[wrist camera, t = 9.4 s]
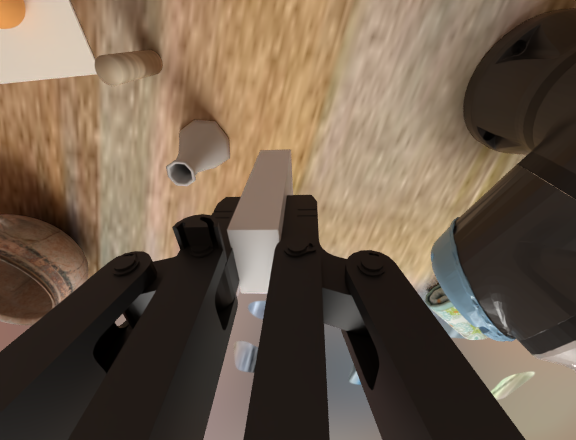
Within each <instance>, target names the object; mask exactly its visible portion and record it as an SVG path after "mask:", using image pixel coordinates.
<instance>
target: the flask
mask: <svg viewBox="0 0 576 440" xmlns="http://www.w3.org/2000/svg"><path fill="white" fill-rule="evenodd" d="M229 158H230V149H229V138H228V137H227V136H226V134H225V133H224V132H223V131H222V129H221V128H220V127H219V125H218V124H217V123H216V122H215V121H206V120H193V121H192V122H191V123H189V124H188V125H187V126H185V127H184V128H183V129H182V130H180V134H179V154H178V156H177V159H176V160H174V161H173V162H172V163H170V164H169V165H167V166H166V169H167V173H168V177H169V178H170V179H171V180H172V181H173V182H174V183H175V184H176V185H179V186H188V185H189V184H191V183H192V182H194V181H195V180H196V178H195V175H196V174H197V173H198V172H201V171H204V170H208V169H212V168H216V167H217V166H219V165H220V164H222V163H223V162H225V161H226V160H228V159H229Z"/></svg>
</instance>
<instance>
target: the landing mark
mask: <svg viewBox="0 0 576 440" xmlns="http://www.w3.org/2000/svg"><path fill="white" fill-rule="evenodd" d="M24 3H25V8H26V12H25V17H24V19H23V21H22V22H21V23H20V24H19V25H18V26H16V27H14V28H10V29H0V84H5V83H14V82H24V81H34V80H44V79H54V78H63V77H73V76H83V75H93V74H97V73H96V70H95V58H94V56H93V53H92V51H91V49H90V46H89V44H88V42H87V39H86V37H85V35H84V32H83V30H82V28H81V25H80V23H79V21H78V18H77V16H76V13H75V11H74V9H73V6H72V4H71V2H70V0H24Z"/></svg>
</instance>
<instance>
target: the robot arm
mask: <svg viewBox="0 0 576 440" xmlns="http://www.w3.org/2000/svg"><path fill="white" fill-rule="evenodd" d="M464 119H465V123H466V126H467V128H468V130H469V132H470V133H471V134H472V136H473V137H474V138H475V139H476V140H478V141H479V142H481V143H482V144H484V145H486V146H487V147H489V148H491V149H493V150H496V151H499V152H503V153H511V154H523V155H527V156H526V157H525V158H524V159H522V160H521V161H520V162H519V163H518V164H517V165H516V166H515V167H514V168H513V169H511V170H510V171H509V172H508V173H507V174H506V175H505V176H504V177H503V178H502V179H501V180H500V181H498V182H497V183H496V184H495V185H494V186H493V187H492V188H491V189H490V190H489V191H488V192H487V193H485V194H484V195H483V196H482V197H481V198H480V199H479V200H478V201H477V202H476V203H475V204H474V205H473V206H471V207H470V208H469V209H468V210H467V211H466V212H465V213H464V214H463V215H462V216H461V217H457V218H456V219H454V220H453V222H452V223H451V226H450V227H449V228H448V229H447V230H446V231H445V232H444V233H443V234H442V235H441V236H440V237H439V239H438V240H437V241H436V242H435V243H434V245H433V247H432V250H431V261H432V268H433V271H434V273H435V276H436V278H437V280H438V282H439V284H440V286H441V288H442V289H443V291H444V293H445V294H446V296H447V297H448V299H449V300H450V301H451V303H452V304H453V305H454V307H455V308H456V309H457V310H458V311H459V313H460V314H461V315H462V316H463V317H464V318H465V319H466V320H467V321H468V322H469V323H470V324H471V325H473V326H474V327H478V328H479V329H480V331H481V332H482V333H483V334H484V335H486V336H487V337H489V338H491V339H493V340H497V341H513V340H515V339H517V340H518V341H519V342H520V343H521V344H522V345H523V346H524V347H525V348H526V349H527V350H528V351H529V352H530V353H531V354H532V355H533V356H534V357H535V358H537V359H542V360H545V361H549V362H553V363H557V364H560V365H564V366H566V367H568V368H571V369H573V370H574V371H575V372H576V200H575V199H576V8H573V9H561V10H555V11H550V12H547V13H544V14H541V15H538V16H536V17H534V18H531V19H529V20H527V21H526V22H524V23H522V24H520V25H519V26H517V27H516V28H514V29H513V30H512V31H510V32H509V33H508V34H506V35H505V36H504V37H503V38H502V39H501V40H499V41H498V42H497V43H496V44H495V45H494V46H493V47H492V49H491V50H490V51H489V52H488V53H487V54H486V56H485V57H484V58H483V60H482V61H481V62H480V64H479V65H478V67H477V68H476V70H475V72H474V74H473V76H472V78H471V80H470V82H469V85H468V88H467V91H466V94H465V99H464ZM521 166H522V167H521ZM526 169H527V170H526ZM529 171H530V172H529ZM531 172H532V173H531ZM533 173H534V174H535V175H534V174H533ZM536 175H537V176H536ZM539 177H540V178H539ZM541 178H542V179H543V180H542V179H541ZM544 180H545V181H544ZM546 181H547V182H548V183H547V182H546ZM549 183H550V184H549ZM551 184H552V185H553V186H552V185H551ZM554 186H555V187H556V188H555V187H554ZM557 188H558V189H557ZM559 189H560V190H561V191H560V190H559ZM562 191H563V192H565V193H566V194H565V193H563V192H562ZM567 194H568V195H569V196H568V195H567ZM570 196H571V197H570ZM572 197H573V198H574V199H573V198H572ZM172 228H173V230H174V233H175V236H176V239H177V241H178V244H179V247H180V251H179V253H178V255H177V256H176V257H172V258H168V259H164V260H159V261H155V262H153V261H152V259H151V257H150V256H149V254H147V253H145V252H139V251H134V252H130V253H125V254H123V255H121V256H118V257H116V258H115V259H113V260H112V261H110V262H109V263H107V264H106V265H105V266H104V267H102V268H101V269H100V270H99V271H98V272H96V273H95V274H94V275H93V276H92V277H90V278H89V279H88V280H87V281H86V282H84V283H83V284H82V285H81V286H79V287H78V288H77V289H76V290H75V291H73V292H72V293H71V294H70V295H69V296H67V297H66V298H65V299H64V300H63V301H61V302H60V303H59V304H58V305H57V306H55V307H54V308H53V309H52V310H50V311H49V312H48V313H47V314H46V315H44V316H43V317H42V318H41V319H40V320H38V321H37V322H36V323H35V324H34V325H32V326H31V327H30V328H29V329H27V330H26V331H25V332H24V333H23V334H21V335H20V336H19V337H18V338H17V339H16V340H14V341H13V342H12V343H11V344H9V345H8V346H7V347H6V348H5V349H3V350H2V351H1V352H0V440H203V438H204V434H205V430H206V426H207V423H208V419H209V415H210V411H211V407H212V404H213V399H214V396H215V392H216V388H217V384H218V380H219V377H220V372H221V369H222V365H223V361H224V357H225V353H226V349H227V345H228V341H229V338H230V334H231V330H232V326H233V322H234V318H235V315H236V311H237V305H238V301H237V296H236V291H237V288H238V284H239V286H240V290H241V293H257V294H260V293H261V294H267V300H266V305H265V311H264V318H263V324H262V330H261V336H260V342H259V348H258V354H257V360H256V367H255V373H254V379H253V385H252V391H251V397H250V403H249V410H248V416H247V422H246V428H245V434H244V440H329V421H328V420H329V419H328V402H327V401H328V400H327V379H326V358H325V339H324V323H325V324H328V325H331V326H334V327H337V328H340V329H341V331H342V334H343V337H344V339H345V342H346V345H347V347H348V350H349V353H350V355H351V358H352V361H353V363H354V366H355V368H356V371H357V374H358V376H359V379H360V382H361V384H362V387H363V390H364V392H365V395H366V397H367V400H368V403H369V405H370V408H371V411H372V413H373V416H374V418H375V421H376V424H377V426H378V429H379V432H380V434H381V437H382V439H383V440H525V438H524V437H523V436H522V434H521V433H520V432H519V430H518V429H517V427H516V426H515V425H514V423H513V422H512V421H511V419H510V418H509V417H508V415H507V414H506V413H505V411H504V410H503V408H502V407H501V406H500V405H499V403H498V402H497V400H496V399H495V398H494V396H493V395H492V393H491V392H490V391H489V389H488V388H487V387H486V385H485V384H484V383H483V381H482V380H481V379H480V377H479V376H478V375H477V373H476V372H475V370H473V368H472V366H471V365H470V364H469V362H468V361H467V360H466V358H465V357H464V356H463V354H462V353H461V351H460V350H459V349H458V347H457V346H456V345H455V343H454V342H453V341H452V339H451V338H450V336H449V335H448V334H447V332H446V331H445V330H444V328H443V327H442V326H441V324H440V323H439V322H438V320H437V319H436V317H435V316H434V315H433V313H432V312H431V311H430V309H429V308H428V307H427V305H426V304H425V303H424V301H423V300H422V298H421V297H420V296H419V294H418V293H417V292H416V290H415V289H414V288H413V286H412V285H411V284H410V282H409V281H408V279H407V278H406V277H405V275H404V274H403V273H402V271H401V270H400V269H399V267H398V266H397V265H396V263H395V262H394V261H393V260H392V259H391V258H390V257H388V256H386V255H384V254H382V253H380V252H376V251H372V250H364V251H359V252H355V253H353V254H352V255H351V256H349V257H348V259H344V258H340V257H336V256H333V255H331V254H329V253H327V252H326V251H325V250H324V249H323V248H322V247H321V245H320V243H319V234H318V214H317V201H316V200H315V199H314V197H313V196H312V195H293V184H292V164H291V150H260V152H259V155H258V157H257V160H256V162H255V164H254V167H253V169H252V172H251V174H250V176H249V179H248V181H247V183H246V186H245V188H244V191H243V193H242V195H241V197H226V198H224V199H223V200H222V201H221V202H219V203H218V204H217V206H216V208H215V210H214V213H212V215H204V214H201V215H193V216H190V217H187V218H184V219H183V220H181V221H179V222H177V223H176V224H175V225H174V226H173V227H172ZM121 314H123V315H124V317H125V318H126V321H125V322H124V323H123V324H122V325H120V326H117V325H116V324H115V321H116V319H118V318H119V317H120V315H121Z"/></svg>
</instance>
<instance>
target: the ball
mask: <svg viewBox="0 0 576 440" xmlns="http://www.w3.org/2000/svg"><path fill="white" fill-rule="evenodd" d="M25 12H26V8H25V3H24V0H0V29H10V28H14V27H16V26H18V25H19V24H20V23H21V22H22V21H23V19H24V17H25Z"/></svg>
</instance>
